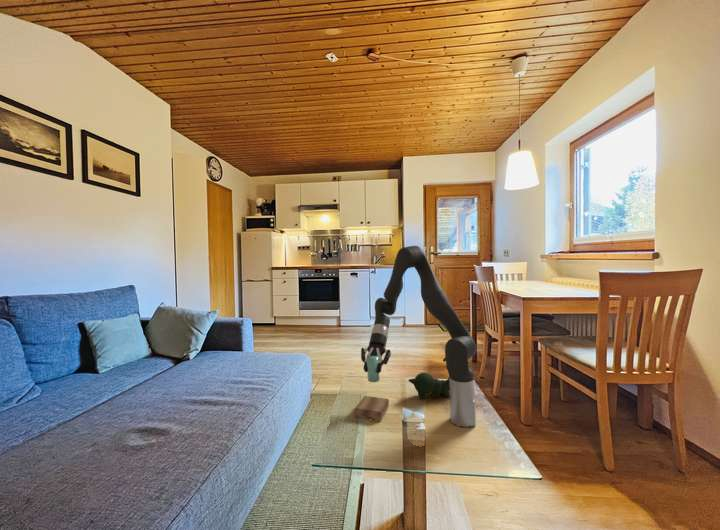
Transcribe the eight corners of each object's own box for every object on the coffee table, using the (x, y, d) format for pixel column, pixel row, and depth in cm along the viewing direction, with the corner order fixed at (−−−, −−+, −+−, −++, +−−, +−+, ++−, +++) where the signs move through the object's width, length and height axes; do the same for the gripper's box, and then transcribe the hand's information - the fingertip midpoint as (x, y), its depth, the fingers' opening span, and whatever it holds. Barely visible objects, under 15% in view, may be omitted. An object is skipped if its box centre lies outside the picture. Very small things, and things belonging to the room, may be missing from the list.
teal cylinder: (381, 378, 134) (379, 355, 134) (377, 382, 130) (375, 359, 129) (370, 376, 136) (369, 354, 136) (366, 381, 132) (364, 358, 131)
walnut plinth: (388, 408, 133) (388, 399, 133) (381, 421, 123) (380, 411, 123) (365, 404, 137) (364, 395, 137) (355, 417, 127) (355, 408, 127)
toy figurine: (453, 391, 149) (404, 393, 144) (455, 352, 148) (405, 353, 144) (463, 400, 139) (411, 403, 135) (465, 359, 139) (412, 360, 134)
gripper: (362, 331, 142) (353, 366, 131) (392, 332, 136) (385, 369, 126) (367, 339, 147) (358, 374, 136) (396, 341, 142) (390, 377, 131)
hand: (371, 371), depth 131 cm, fingers closed on teal cylinder, 5 cm apart
